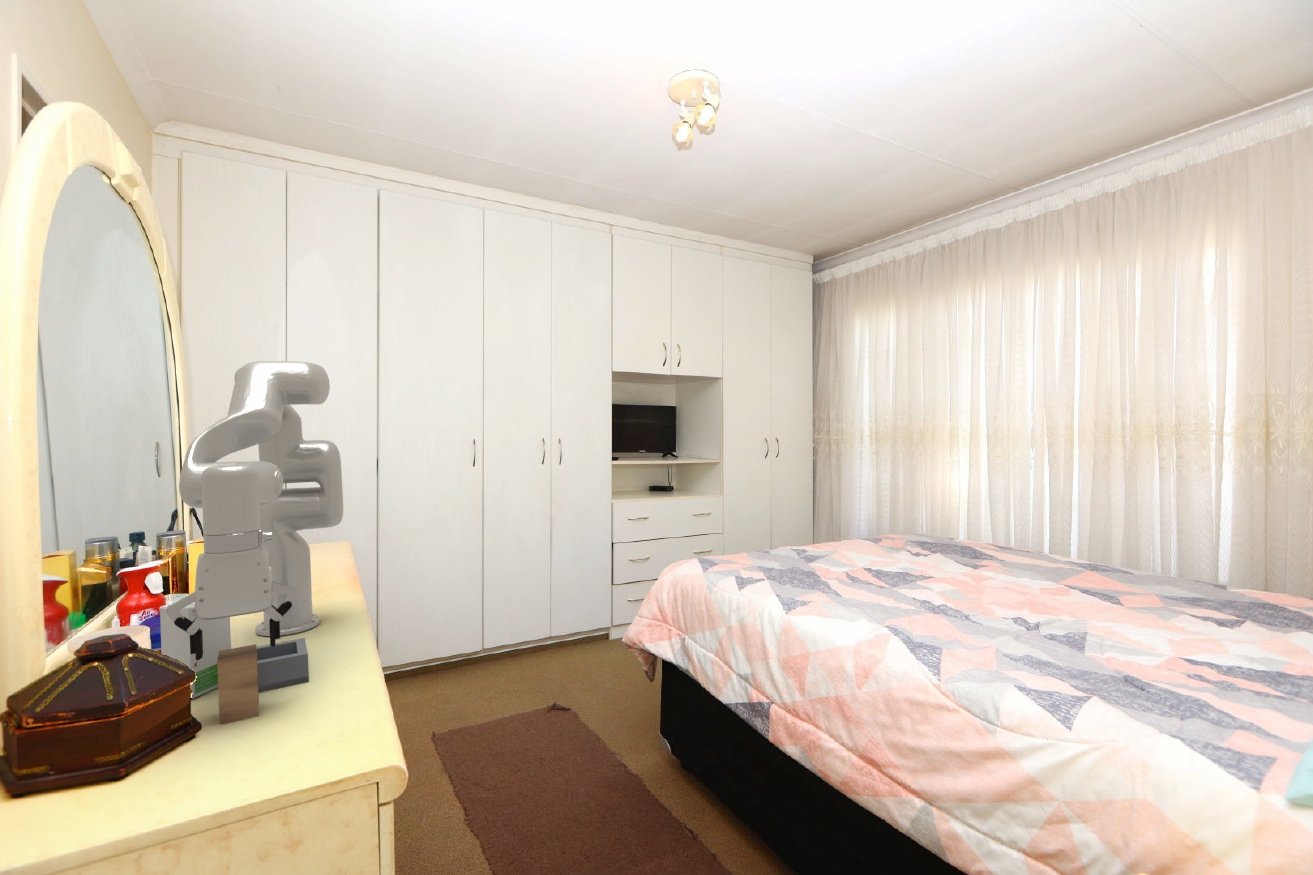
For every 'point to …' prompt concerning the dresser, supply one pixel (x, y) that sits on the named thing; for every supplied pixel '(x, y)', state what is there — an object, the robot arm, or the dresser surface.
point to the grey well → (282, 664)
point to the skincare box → (178, 648)
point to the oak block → (238, 684)
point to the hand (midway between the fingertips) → (237, 650)
